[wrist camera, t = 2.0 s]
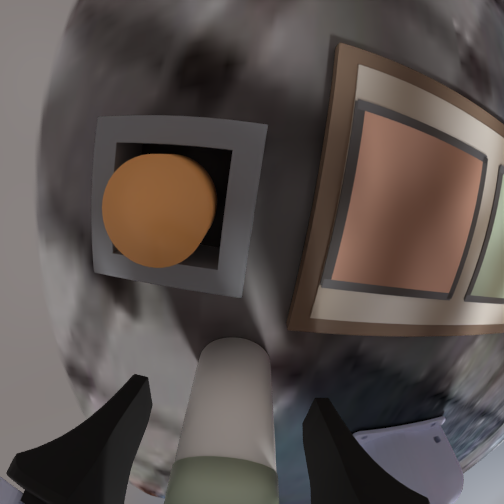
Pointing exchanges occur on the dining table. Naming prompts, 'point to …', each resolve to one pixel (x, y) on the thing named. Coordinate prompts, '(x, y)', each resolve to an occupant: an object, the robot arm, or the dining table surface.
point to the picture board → (403, 209)
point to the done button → (159, 208)
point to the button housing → (236, 207)
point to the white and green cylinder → (227, 430)
